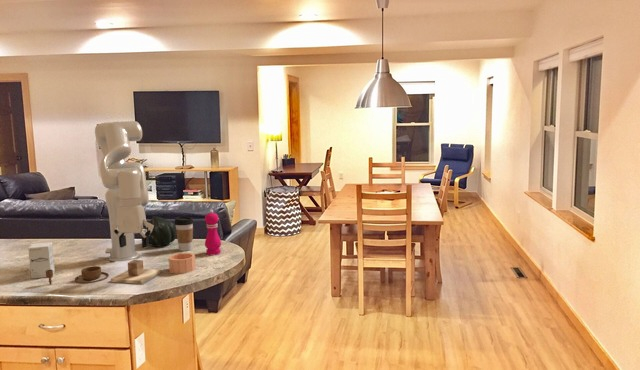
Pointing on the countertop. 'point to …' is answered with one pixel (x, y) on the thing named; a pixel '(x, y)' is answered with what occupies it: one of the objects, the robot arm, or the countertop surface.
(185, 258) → the bowl
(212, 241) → the pepper mill
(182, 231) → the coffee cup
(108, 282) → the tray
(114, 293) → the countertop surface
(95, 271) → the place setting
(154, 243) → the squash
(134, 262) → the lid
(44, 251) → the supplement box
